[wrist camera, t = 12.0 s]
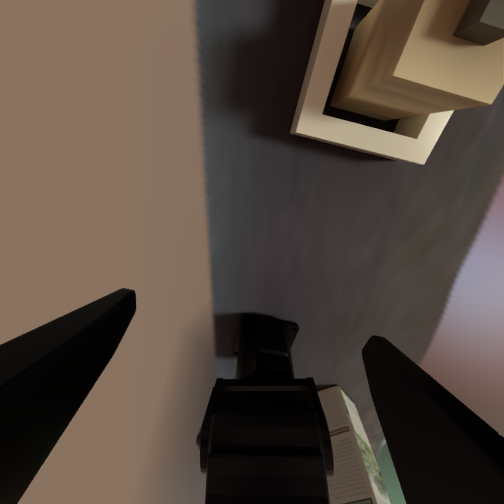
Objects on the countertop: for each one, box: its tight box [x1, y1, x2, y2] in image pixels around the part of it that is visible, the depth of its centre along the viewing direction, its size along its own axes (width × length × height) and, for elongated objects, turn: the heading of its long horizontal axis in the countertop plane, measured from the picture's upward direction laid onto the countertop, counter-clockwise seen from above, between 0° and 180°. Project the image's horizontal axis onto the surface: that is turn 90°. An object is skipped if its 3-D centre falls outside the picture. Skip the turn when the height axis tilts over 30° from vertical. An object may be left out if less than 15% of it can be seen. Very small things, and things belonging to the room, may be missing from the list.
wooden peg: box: [330, 0, 504, 121], centre depth 10 cm, size 4×4×9 cm
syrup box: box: [318, 386, 392, 504], centre depth 24 cm, size 6×6×14 cm
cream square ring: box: [290, 0, 454, 165], centre depth 13 cm, size 8×8×3 cm
